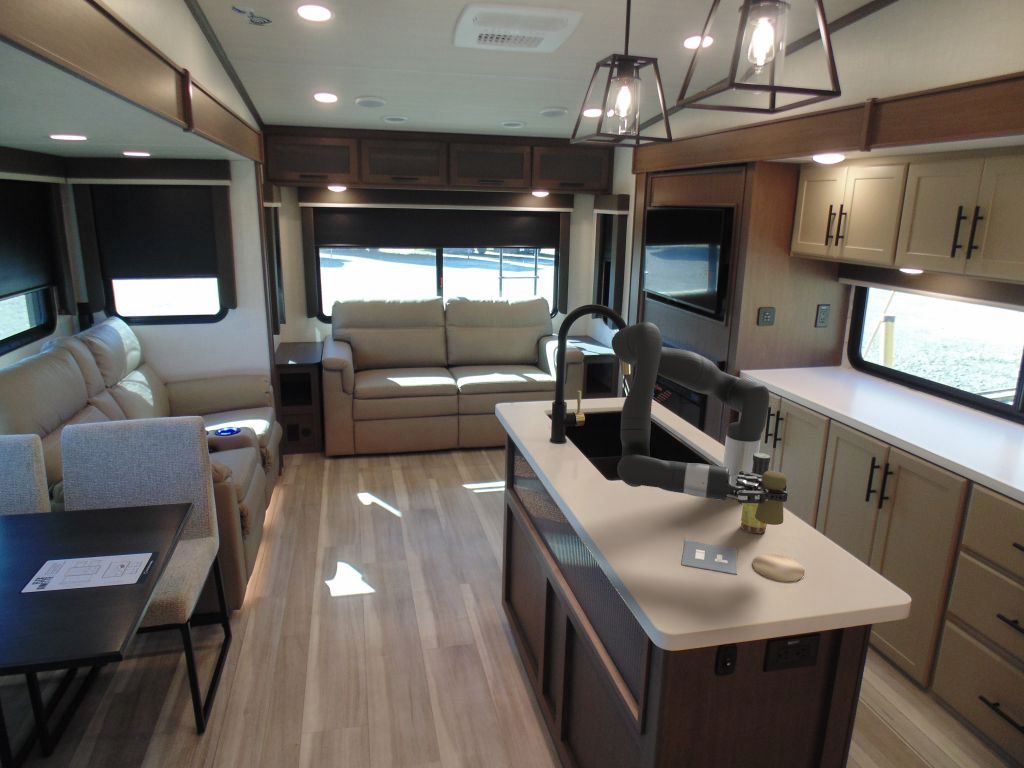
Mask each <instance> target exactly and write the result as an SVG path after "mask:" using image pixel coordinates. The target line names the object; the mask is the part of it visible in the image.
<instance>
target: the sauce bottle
mask: <svg viewBox="0 0 1024 768" xmlns="http://www.w3.org/2000/svg"><path fill="white" fill-rule="evenodd" d="M770 462H771V455H769V454H767V453H764V452H759V453H755V454H754V455H753V468H752V472H751V473H754V474H758V475H762V476H763V474H764V473H765V472H767V471H769V466H770ZM757 507H758V503H742V512H741V518H740V522H741V523H740V526H741V529H742V530H744V531H745V532H748V533H752V534H762V533H765V532H766V530H767V526H768V524H765V523H762V522H760V521H758V520H757V519H756V518H755V514H756V510H757Z"/></svg>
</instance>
